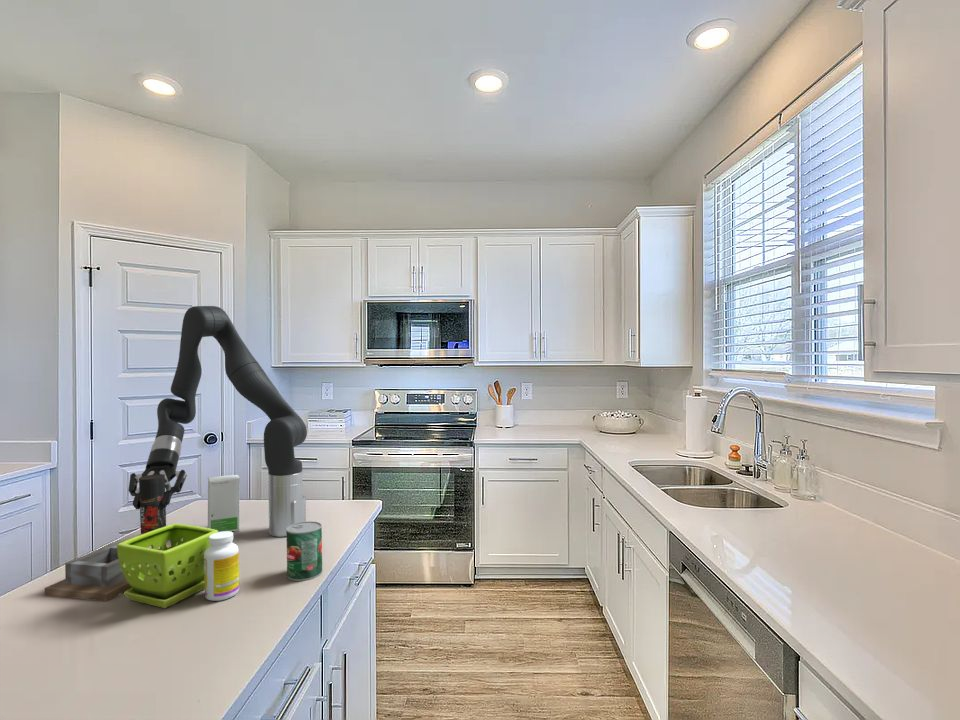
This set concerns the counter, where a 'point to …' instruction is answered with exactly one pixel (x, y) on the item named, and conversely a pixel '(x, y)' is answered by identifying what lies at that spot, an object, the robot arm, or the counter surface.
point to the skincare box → (223, 503)
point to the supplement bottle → (221, 567)
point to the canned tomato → (304, 550)
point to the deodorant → (152, 502)
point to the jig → (93, 577)
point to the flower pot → (165, 564)
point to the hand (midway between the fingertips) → (150, 506)
